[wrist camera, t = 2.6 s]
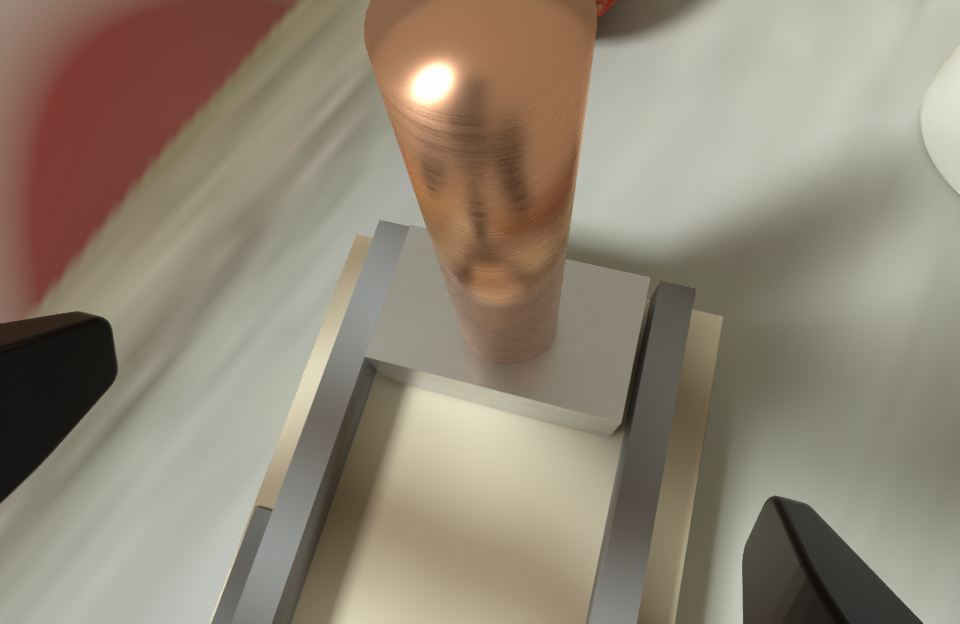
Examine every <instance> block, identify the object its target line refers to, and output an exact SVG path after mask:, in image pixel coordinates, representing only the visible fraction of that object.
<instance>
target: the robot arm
mask: <svg viewBox="0 0 960 624" xmlns="http://www.w3.org/2000/svg"><path fill="white" fill-rule="evenodd" d="M117 372H118V363H117V357H116V351H115V344H114V338H113V332H112V327H111V325H110V323H109V322H108V320H106V319H105V318H103V317H100V316H96V315H92V314H89V313H85V312H78V311H76V312H68V313H62V314H56V315H50V316H44V317H38V318H31V319H25V320H19V321H13V322H7V323H0V504H1V503H2V502H3V501H4V500H5V499H6V498H7V497H8V496H9V495H10V494H11V493H12V492H14V491H15V490H16V489H17V488H18V487H19V486H20V485H21V484H22V483H23V482H24V481H25V480H26V479H27V478H28V477H29V476H30V475H31V474H32V473H33V472H34V471H35V470H36V469H37V468H38V467H39V466H40V465H41V464H42V463H43V462H44V461H45V460H46V459H47V458H48V456H49V455H50V454H51V453H52V452H53V451H54V450H55V449H56V448H57V446H58V445H59V444H60V443H61V442H62V441H63V440H64V439H65V437H66V436H67V435H68V434H69V433H70V432H71V431H72V430H73V428H74V427H75V426H76V425H77V424H78V423H79V422H80V420H81V419H82V418H83V417H84V416H85V415H86V414H87V413H88V411H89V410H90V409H91V408H92V407H93V406H94V405H95V404H96V402H97V401H98V400H99V399H100V398H101V397H102V396H103V395H104V393H105V392H106V391H107V390H108V389H109V388H110V387H111V385H112V384H113V382H114V381H115V379H116V376H117ZM742 582H743V624H923V623H922V621H921V620H920V619H919V618H918V617H917V616H916V615H915V614H914V613H913V612H912V611H911V610H910V609H909V608H908V607H907V606H906V605H905V604H904V603H903V602H902V601H901V600H900V599H899V598H898V597H897V596H896V595H895V593H894V592H893V591H892V590H891V589H890V588H889V587H888V586H887V585H886V584H885V583H884V582H883V581H882V580H881V579H880V578H879V577H878V576H877V575H876V574H875V573H874V572H873V571H872V570H871V569H870V568H869V566H868V565H867V564H866V563H865V562H864V561H863V560H862V559H861V558H860V557H859V556H858V555H857V554H856V553H855V552H854V551H853V550H852V549H851V548H850V547H849V546H848V545H847V544H846V543H845V542H844V541H843V540H842V538H841V537H840V536H839V535H838V534H837V533H836V532H835V531H834V530H833V529H832V528H831V527H830V526H829V525H828V524H827V523H826V522H825V521H824V520H823V519H822V518H821V517H820V516H819V515H818V514H817V513H816V512H815V510H814V509H812V508H811V507H810V506H809V505H807V504H805V503H802V502H798V501H794V500H791V499H787V498H783V497H779V496H773V497H770V498H769V499H768V500H767V501H766V502H765V504H764V506H763V508H762V510H761V512H760V514H759V516H758V519H757V521H756V523H755V525H754V527H753V529H752V531H751V534H750V536H749V538H748V540H747V542H746V545H745V548H744V553H743V560H742Z"/></svg>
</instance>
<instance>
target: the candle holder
mask: <svg viewBox="0 0 960 624" xmlns="http://www.w3.org/2000/svg"><path fill="white" fill-rule="evenodd" d="M920 124H921V132H922V137H923V141H924V144H925V147H926V150H927V152H928V154H929V156H930V158H931V160H932V162H933V164H934V165H935V167H936V169H937V170H938V171H939V173H940V174H941V176H942V177H943V178H944V179H945V181H946V182H947V183H948V184H949V185H950V186H951V187H952V188H953V189H954V190H955V191H956V192H957V193H958V194H959V195H960V41H959V42H958V44H957V45H956V46H955V47H954V49H953V50H952V51H951V53H950V54H949V55H948V57H947V58H946V60H945V61H944V62H943V64H942V65H941V66H940V68H939V69H938V71H937V72H936V74H935V75H934V77H933V78H932V80H931V82H930V84H929V86H928V88H927V90H926V92H925V95H924V98H923V101H922V106H921V114H920Z"/></svg>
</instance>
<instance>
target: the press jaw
mask: <svg viewBox="0 0 960 624" xmlns="http://www.w3.org/2000/svg"><path fill="white" fill-rule="evenodd" d="M596 29H597V7H596V0H371V1H370V3H369V6H368V9H367V12H366V17H365V23H364V38H365V45H366V49H367V52H368V55H369V58H370V61H371V64H372V67H373V70H374V73H375V76H376V79H377V82H378V85H379V88H380V91H381V94H382V97H383V100H384V103H385V106H386V109H387V112H388V115H389V117H390V120H391V123H392V126H393V129H394V132H395V135H396V138H397V141H398V144H399V147H400V150H401V153H402V156H403V159H404V162H405V165H406V168H407V171H408V174H409V177H410V180H411V183H412V186H413V189H414V192H415V195H416V198H417V201H418V204H419V207H420V210H421V213H422V216H423V218H424V221H425V224H426V227H427V228H422V227H418V226H413V225H410V227H409V230H408V233H407V236H406V239H405V242H404V245H403V247H402V250H401V253H400V256H399V259H398V262H397V265H396V267H395V270H394V273H393V276H392V279H391V282H390V285H389V287H388V290H387V293H386V296H385V299H384V302H383V305H382V307H381V310H380V313H379V316H378V319H377V322H376V325H375V327H374V330H373V333H372V336H371V339H370V342H369V345H368V348H367V350H366V353H365V356H364V357H365V358H366V359H367V360H368V361H369V362H370V363H371V364H372V365H373V366H374V367H375V368H376V369H377V371H378V372H379V373H380V374H381V375H382V376H383V377H384V378H385V379H386V380H389V381H393V382H397V383H401V384H404V385H408V386H412V387H416V388H420V389H423V390H427V391H431V392H435V393H439V394H442V395H446V396H450V397H454V398H458V399H461V400H465V401H469V402H473V403H477V404H481V405H484V406H488V407H492V408H496V409H500V410H503V411H507V412H511V413H515V414H519V415H522V416H526V417H530V418H534V419H538V420H541V421H545V422H549V423H553V424H557V425H560V426H564V427H568V428H572V429H576V430H580V431H583V432H587V433H591V434H595V435H599V436H602V437H606V438H609V437H610V436H611V434H612V433H613V432H614V431H615V430H616V428H617V427H618V426H619V425H620V424H621V422H622V417H623V412H624V407H625V402H626V397H627V392H628V387H629V382H630V377H631V373H632V368H633V363H634V358H635V353H636V348H637V343H638V338H639V333H640V328H641V323H642V318H643V313H644V308H645V304H646V299H647V294H648V289H649V284H650V279H651V277H647V276H643V275H638V274H634V273H629V272H624V271H620V270H615V269H611V268H606V267H601V266H597V265H592V264H588V263H583V262H578V261H574V260H569V259H566V254H567V246H568V239H569V231H570V224H571V216H572V209H573V201H574V194H575V186H576V179H577V171H578V164H579V156H580V149H581V141H582V134H583V126H584V119H585V111H586V104H587V96H588V89H589V81H590V74H591V66H592V59H593V51H594V44H595V36H596Z"/></svg>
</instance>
